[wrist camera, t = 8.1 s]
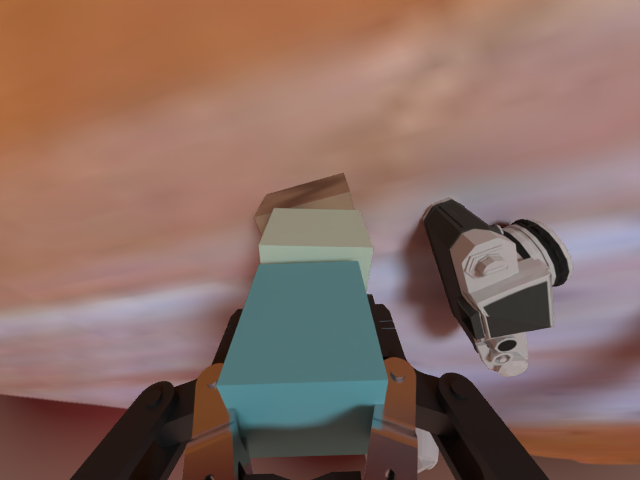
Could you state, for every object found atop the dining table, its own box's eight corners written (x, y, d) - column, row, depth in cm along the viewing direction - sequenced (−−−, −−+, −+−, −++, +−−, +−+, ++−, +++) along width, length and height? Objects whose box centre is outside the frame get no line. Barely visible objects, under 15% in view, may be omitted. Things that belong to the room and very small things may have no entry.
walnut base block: (343, 172, 21) (350, 191, 16) (359, 240, 24) (368, 271, 20) (266, 193, 22) (253, 217, 17) (292, 256, 25) (286, 289, 21)
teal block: (358, 260, 12) (388, 379, 7) (355, 328, 15) (375, 454, 10) (258, 264, 12) (216, 385, 7) (272, 331, 15) (248, 457, 10)
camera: (522, 295, 28) (615, 383, 19) (446, 319, 30) (499, 410, 21) (509, 169, 21) (647, 220, 12) (410, 211, 23) (467, 281, 14)
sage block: (359, 210, 17) (373, 247, 13) (351, 277, 20) (360, 326, 16) (273, 208, 17) (258, 245, 13) (278, 276, 20) (267, 325, 16)
